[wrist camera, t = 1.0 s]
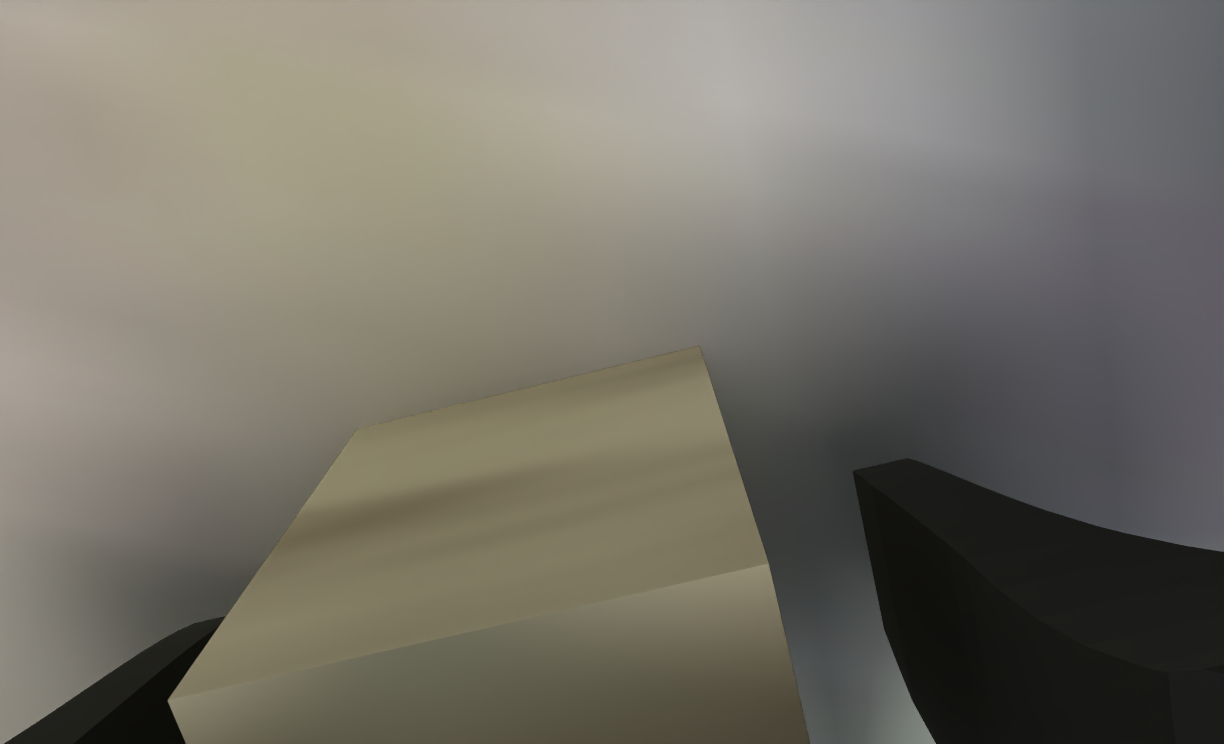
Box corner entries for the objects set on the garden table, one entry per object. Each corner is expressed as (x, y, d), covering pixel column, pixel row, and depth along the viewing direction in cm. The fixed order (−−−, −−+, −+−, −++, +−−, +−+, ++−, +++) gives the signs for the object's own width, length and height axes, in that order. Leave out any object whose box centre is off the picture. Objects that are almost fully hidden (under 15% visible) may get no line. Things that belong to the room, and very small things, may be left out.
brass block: (772, 652, 14) (879, 1044, 9) (458, 722, 15) (358, 1145, 9) (698, 344, 13) (769, 563, 7) (357, 427, 13) (167, 700, 8)
